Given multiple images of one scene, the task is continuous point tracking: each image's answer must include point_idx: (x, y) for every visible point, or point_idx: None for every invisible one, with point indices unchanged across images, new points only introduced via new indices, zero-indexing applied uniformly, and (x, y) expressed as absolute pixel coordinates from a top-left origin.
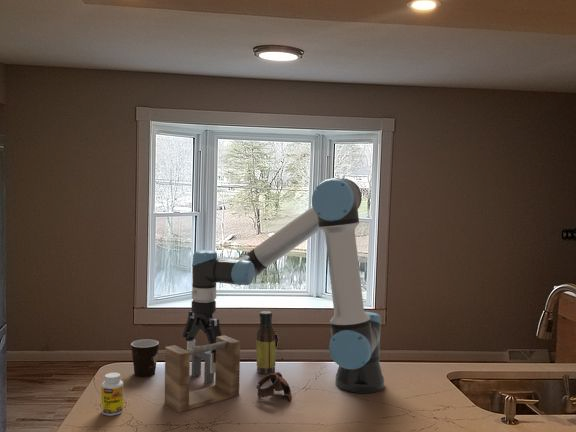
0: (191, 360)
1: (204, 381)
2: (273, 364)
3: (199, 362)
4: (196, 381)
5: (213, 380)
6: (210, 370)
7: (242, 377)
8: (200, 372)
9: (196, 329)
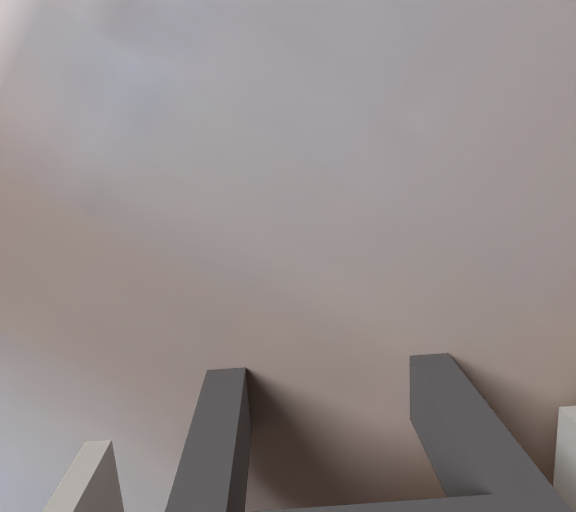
0: (116, 482)
1: (413, 420)
2: None
3: (237, 454)
4: (362, 459)
5: (452, 360)
6: (574, 505)
7: (531, 80)
8: (244, 382)
9: None
